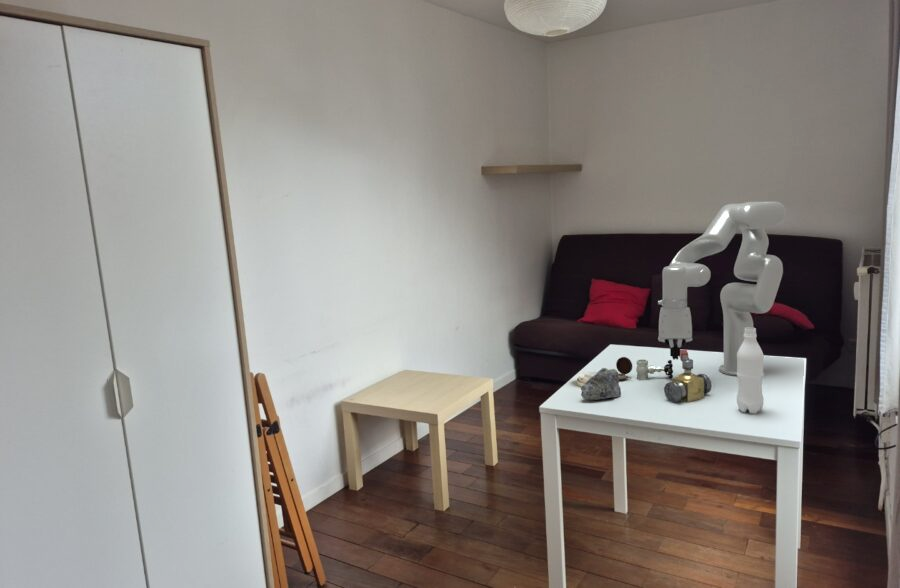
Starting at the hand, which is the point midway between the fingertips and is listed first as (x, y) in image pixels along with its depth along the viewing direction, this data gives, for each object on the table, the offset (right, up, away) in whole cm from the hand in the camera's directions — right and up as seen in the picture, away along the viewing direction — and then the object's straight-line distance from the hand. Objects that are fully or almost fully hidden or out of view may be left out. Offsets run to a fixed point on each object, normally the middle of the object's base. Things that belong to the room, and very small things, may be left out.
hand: (675, 358), depth 217 cm
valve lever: (+2, -1, -3) cm, 4 cm away
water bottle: (+15, -14, -22) cm, 30 cm away
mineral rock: (-25, -13, -1) cm, 28 cm away
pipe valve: (+2, -12, -7) cm, 14 cm away
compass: (-13, -9, +17) cm, 23 cm away
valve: (-2, -9, +15) cm, 17 cm away
